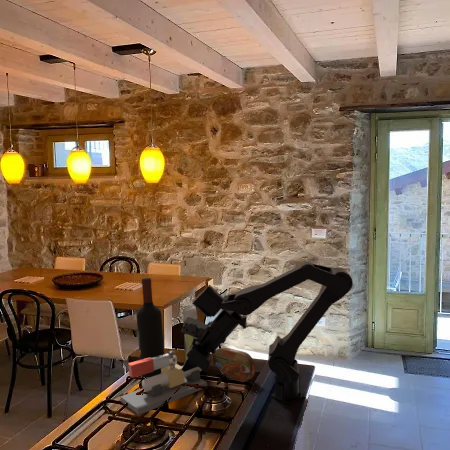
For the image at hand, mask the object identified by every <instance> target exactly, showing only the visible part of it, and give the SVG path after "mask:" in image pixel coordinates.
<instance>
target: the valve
mask: <svg viewBox="0 0 450 450" xmlns="http://www.w3.org/2000/svg"><path fill="white" fill-rule="evenodd" d="M182 367H183V365H179V364H178V363H177V364H175V365H170V366H166V367H164V368H161V374H159V375H156V376H153V377H150V378H147V379H145V378H144V379H143V380H142V381H141V386H142V388H140V389H137V390H135V391H132V392H129V393H127V394H124V395H121V396H120V402H121V403H122V404H123V405H124V404H125V403H128V406H126V407H127V408H129V409H130V410H131V411H132V412H134V413H135V414H137V415H138V416H140V415H142V414H144V413H147V412H149V411H152V410H154V409H157V408H160V407H161V406H160V405H161V404H162V403H163V402H164V401H166V400H168V399H169V398H170V397H172V398H171V399H170V400H169V402H168V403H167V404H169V403H173V402H174V401H177V400H179V399H182V398H184V397H186V396H187V397H188V396H190V395H191V394H194V393H196V392H199V391H201V390H202V389H200V388H199V389H196V388H194V387H190V386H186V385H185V386H182V385H181V384H183V383H186V384H199V385H204V386H207V387H208V382H207V381H206V380H204V379H202V378H201V372H202V371H203V370H202V369H200V368H199V367H196V368H193V369H191V370H188V371H186V372H184V371H183V370H182ZM161 387H162V389H161ZM179 387H180V389H179V390H178V391H177V392H176V393H175V394H174V392H175V391H176V390H177V389H178V388H179ZM141 389H144V391H145V392H147V393H148V394H143V395H142V394H141V395H136V393H137V392H139V391H140V390H141ZM159 406H160V407H159Z"/></svg>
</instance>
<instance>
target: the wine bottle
mask: <svg viewBox="0 0 450 450" xmlns="http://www.w3.org/2000/svg"><path fill="white" fill-rule="evenodd" d="M141 288H142V299H143V300H142V306H141V307H140V308H139V309H138V311H137V312H136V325H137V327H136V328H137V340H138V351H139V360H142V359H145V358H149V357H151V358H153V357H157V356H160V355H164V354H165V344H164V343H165V341H164V332H163V331H164V330H163V329H164V328H163V316H162V310H161V309H160V308H159V307H158V306H156V305H155V304H154V301H153V290H152V289H153V288H152V278H151V277H143V278H141ZM163 368H164V367H163ZM159 374H161V368H159V369H156V370H154V372H150V373H147V374H144V375H140V377H141V378H143V377H145V378H146V377H153V376H156V375H159ZM145 378H144V379H145Z"/></svg>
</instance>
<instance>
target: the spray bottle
mask: <svg viewBox="0 0 450 450" xmlns="http://www.w3.org/2000/svg"><path fill="white" fill-rule="evenodd" d="M182 317H183V318H182V322H183V323H182V324H183V325H184V322H185V320H186V318H187V317H191V318H193V319H196V320H198V313H197V307H195V306H194V305H188V306H186V307H184V309H183V313H182ZM198 321H199V320H198ZM183 325H182V326H183ZM197 338H198V337H197ZM197 338H196V337H193V336H191V335H188V334H184V333H183V339H184V358H185V359H184V360H185V362H186V360H187V358H188V357H187V355H186V354H187V352H188V351H189V348H190V346H191V347H192V342H193V340H194V339H197ZM185 362H184V363H185Z"/></svg>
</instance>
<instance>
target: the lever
mask: <svg viewBox="0 0 450 450" xmlns="http://www.w3.org/2000/svg"><path fill="white" fill-rule="evenodd" d="M175 353H176V351H175V350H172V349H171V350H169V351H168V352H167V353H164V355H160V356H157V357H153V358H151V357H149V358H145V359H142V360H140V359H139V360H136V361H132V362H128V365H127V366H128V374H129V377H130V378H132V379H133V378H137V377H141V375H144V374H147V373H150V372H154V370H156V369H159V368H163V367H166V366H170V365H175V364H178V357H177V355H176V354H175Z"/></svg>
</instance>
